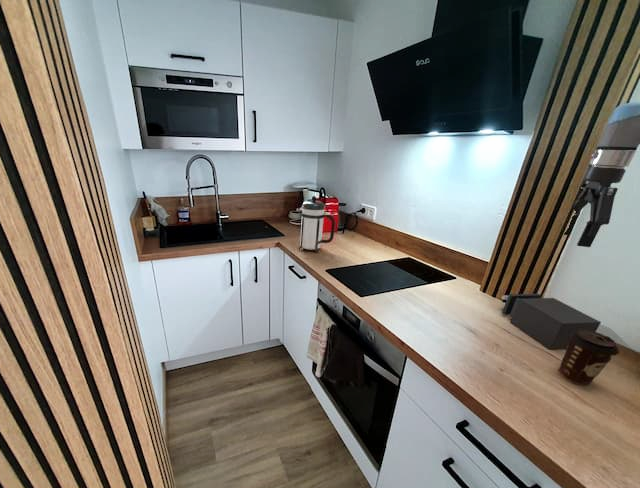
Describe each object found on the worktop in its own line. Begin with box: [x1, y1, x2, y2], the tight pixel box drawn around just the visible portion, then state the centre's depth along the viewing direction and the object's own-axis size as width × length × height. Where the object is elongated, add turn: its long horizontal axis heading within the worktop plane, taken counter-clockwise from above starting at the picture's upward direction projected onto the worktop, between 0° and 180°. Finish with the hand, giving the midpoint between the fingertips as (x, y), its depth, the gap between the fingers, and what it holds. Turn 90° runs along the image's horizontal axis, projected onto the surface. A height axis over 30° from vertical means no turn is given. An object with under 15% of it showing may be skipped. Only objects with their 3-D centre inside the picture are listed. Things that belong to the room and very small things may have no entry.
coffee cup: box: [557, 330, 620, 386], centre depth 74 cm, size 9×8×13 cm
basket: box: [501, 293, 542, 319], centre depth 99 cm, size 18×11×8 cm, turn 5°
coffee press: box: [298, 196, 336, 254], centre depth 159 cm, size 17×16×30 cm
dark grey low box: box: [509, 297, 602, 351], centre depth 92 cm, size 15×13×10 cm
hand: (572, 240), depth 88 cm, fingers open, 13 cm apart
